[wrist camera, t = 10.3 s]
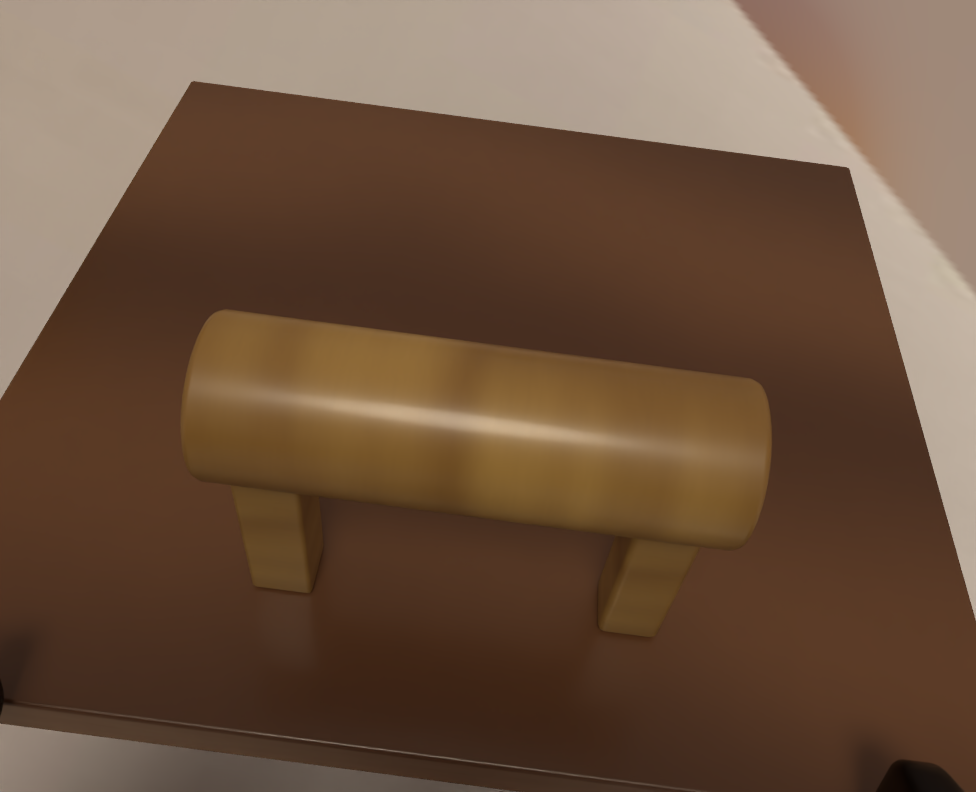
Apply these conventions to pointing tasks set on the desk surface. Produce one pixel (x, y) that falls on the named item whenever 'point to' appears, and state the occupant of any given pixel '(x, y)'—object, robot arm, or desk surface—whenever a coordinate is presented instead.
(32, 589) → the lid
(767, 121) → the desk surface
